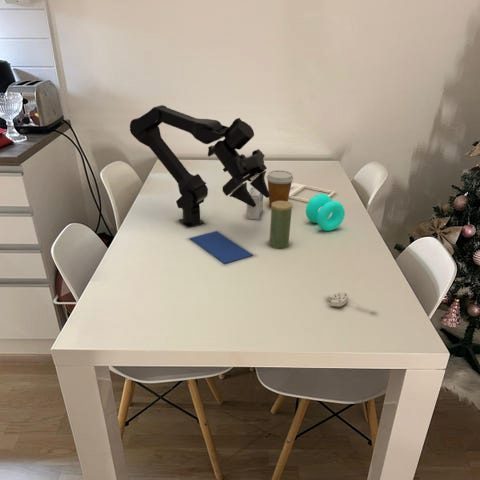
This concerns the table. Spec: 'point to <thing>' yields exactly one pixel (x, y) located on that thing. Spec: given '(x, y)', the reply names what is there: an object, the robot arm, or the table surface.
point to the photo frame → (297, 187)
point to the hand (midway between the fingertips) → (261, 201)
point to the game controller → (339, 299)
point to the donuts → (325, 212)
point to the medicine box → (257, 210)
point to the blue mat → (221, 247)
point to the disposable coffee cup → (279, 185)
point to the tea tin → (280, 224)
